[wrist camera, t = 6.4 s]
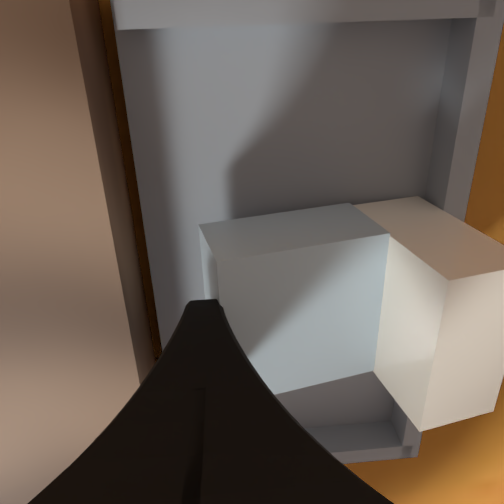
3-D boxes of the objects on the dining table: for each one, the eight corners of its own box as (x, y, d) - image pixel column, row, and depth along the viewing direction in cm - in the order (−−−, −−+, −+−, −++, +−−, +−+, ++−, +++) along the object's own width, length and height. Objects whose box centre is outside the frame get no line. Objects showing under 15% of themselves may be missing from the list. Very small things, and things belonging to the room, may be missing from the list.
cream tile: (341, 330, 14) (400, 317, 14) (419, 431, 11) (493, 411, 11) (350, 205, 12) (417, 195, 13) (448, 280, 9) (536, 263, 9)
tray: (400, 420, 17) (417, 457, 16) (177, 440, 17) (175, 479, 15) (471, -14, 11) (511, -17, 9) (113, -3, 10) (99, -5, 9)
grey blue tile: (340, 327, 14) (374, 370, 12) (209, 355, 13) (226, 406, 11) (349, 202, 12) (390, 233, 10) (198, 224, 11) (216, 261, 10)
